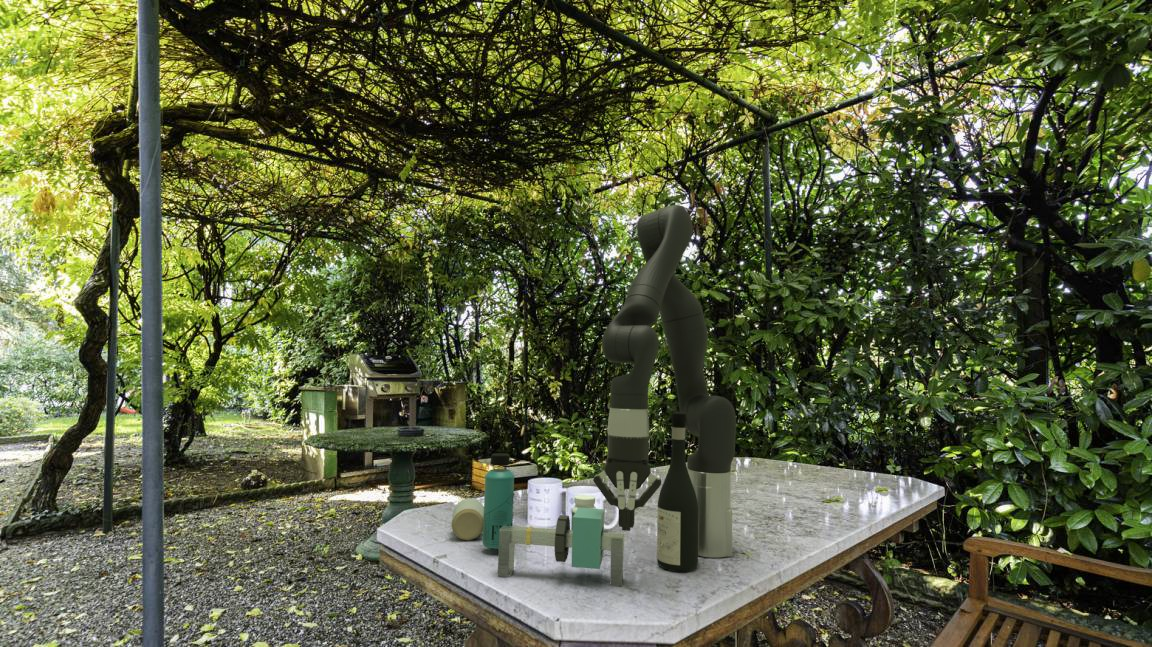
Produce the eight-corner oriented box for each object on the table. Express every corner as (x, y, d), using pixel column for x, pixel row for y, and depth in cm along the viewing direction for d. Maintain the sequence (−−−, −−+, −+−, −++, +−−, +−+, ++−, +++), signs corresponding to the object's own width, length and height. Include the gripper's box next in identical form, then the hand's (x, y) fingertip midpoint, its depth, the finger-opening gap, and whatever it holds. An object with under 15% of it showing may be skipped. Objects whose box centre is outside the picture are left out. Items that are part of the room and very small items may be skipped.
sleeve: (603, 556, 106) (604, 509, 106) (599, 569, 98) (600, 518, 99) (577, 554, 106) (578, 507, 107) (571, 567, 99) (572, 517, 100)
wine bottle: (671, 575, 105) (672, 414, 108) (649, 562, 113) (651, 411, 115) (706, 570, 109) (707, 414, 111) (682, 557, 116) (684, 411, 118)
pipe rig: (623, 578, 103) (624, 532, 104) (622, 586, 99) (623, 538, 100) (502, 568, 106) (504, 523, 107) (496, 576, 102) (498, 529, 103)
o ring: (569, 553, 107) (570, 512, 107) (562, 566, 99) (564, 522, 100) (561, 552, 107) (562, 511, 108) (554, 566, 99) (555, 522, 100)
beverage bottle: (487, 557, 112) (491, 456, 114) (476, 548, 118) (480, 452, 120) (517, 553, 115) (520, 455, 117) (506, 544, 121) (509, 450, 123)
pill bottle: (594, 547, 121) (595, 500, 122) (568, 545, 122) (569, 498, 123) (598, 540, 126) (599, 495, 127) (573, 538, 128) (574, 493, 128)
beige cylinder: (449, 542, 122) (452, 506, 123) (451, 531, 130) (453, 497, 131) (499, 542, 124) (501, 506, 124) (497, 531, 132) (499, 498, 132)
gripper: (664, 432, 106) (662, 526, 105) (594, 429, 108) (592, 521, 107) (664, 437, 99) (663, 538, 97) (590, 433, 101) (587, 532, 99)
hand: (626, 529), depth 102 cm, fingers closed
